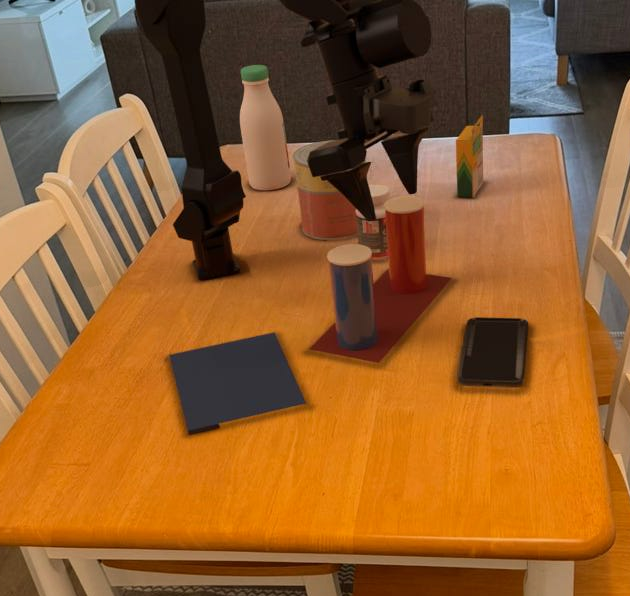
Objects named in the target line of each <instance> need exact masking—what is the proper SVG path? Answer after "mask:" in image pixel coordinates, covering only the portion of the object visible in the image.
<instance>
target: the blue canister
mask: <svg viewBox="0 0 630 596" xmlns="http://www.w3.org/2000/svg"><path fill="white" fill-rule="evenodd" d="M371 256H372V251H371V249H370V248H369V247H367V246H364V245H360V244H358V243H348V244H342V245H338V246H336V247H333V248H332V249H330V250H329V251H328V252H327V254H326V259H327V261H328V270H329V278H330V287H331V295H332V296H331V297H332V305H333V313H334V315H333V316H334V323H335V324H336V333H337V342H338V344H339V346H340V347H342V348H344V349H347V350H364V349H367V348H370V347H372V346H373V345H374V344H375V343H376V342H377V340H378V335H377V323H376V310H375V297H374V273H373V261H372V258H371Z"/></svg>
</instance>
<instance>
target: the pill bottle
mask: <svg viewBox="0 0 630 596" xmlns="http://www.w3.org/2000/svg"><path fill="white" fill-rule="evenodd" d="M368 185H369V189H370V193H371V196H372V200H373V204H374V208H375V214H376V220H375V221H370V222H369V221H367V220H366V219H365V218H364V217H363V215H362V214H361V213H360V212H359V211H358V210H357V209H356V222H357V244H360V245H364V246H367V247H369V248H370V249H371V251H372V256H371V259H374V260H375V259H378V260H379V259H384V258H388V248H387V233H386V218H385V208H384V203H385V202H386V201H387V200H389V199H391V192H390V188H389V187H388V186H387V185H384V184H368Z"/></svg>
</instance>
